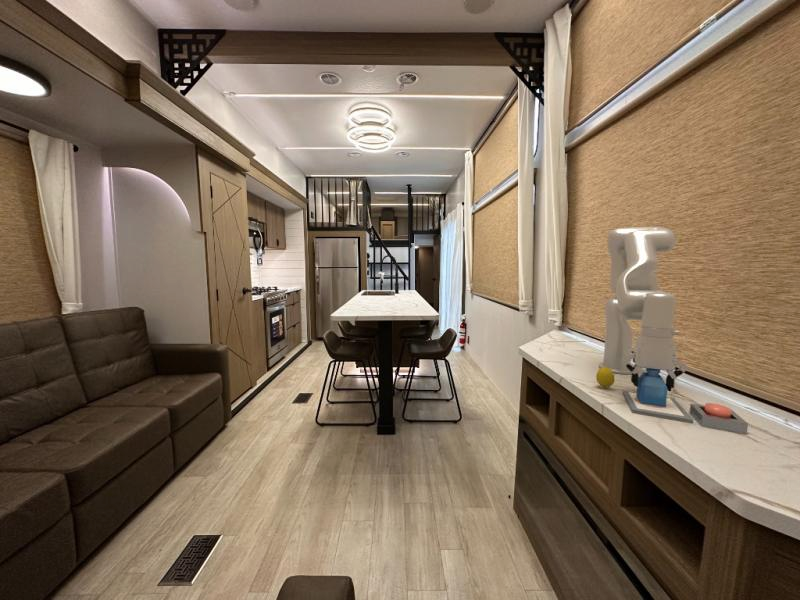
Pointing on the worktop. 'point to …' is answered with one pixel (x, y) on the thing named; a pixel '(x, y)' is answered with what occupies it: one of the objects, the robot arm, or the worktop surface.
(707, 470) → the worktop surface
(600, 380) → the lemon
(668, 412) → the board
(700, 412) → the button base
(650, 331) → the robot arm
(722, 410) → the button
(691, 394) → the worktop surface
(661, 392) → the perfume bottle
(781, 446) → the worktop surface
